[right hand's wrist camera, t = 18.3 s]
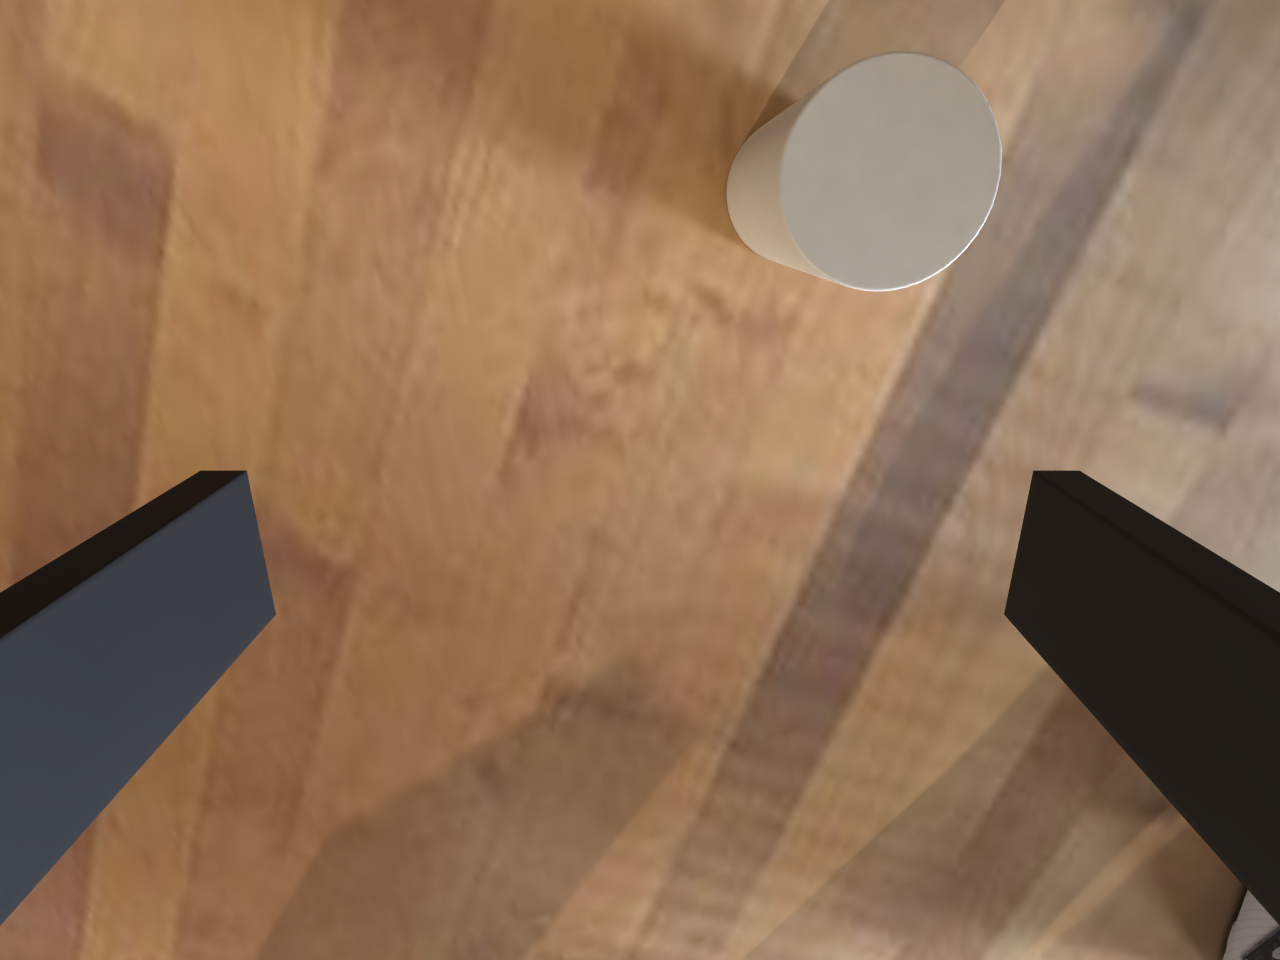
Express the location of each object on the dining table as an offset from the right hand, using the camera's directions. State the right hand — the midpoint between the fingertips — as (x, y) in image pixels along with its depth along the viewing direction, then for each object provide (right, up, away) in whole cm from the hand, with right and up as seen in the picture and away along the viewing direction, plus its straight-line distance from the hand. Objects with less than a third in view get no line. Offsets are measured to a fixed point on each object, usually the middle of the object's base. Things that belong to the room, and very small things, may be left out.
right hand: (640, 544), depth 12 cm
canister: (+6, +12, +16) cm, 21 cm away
